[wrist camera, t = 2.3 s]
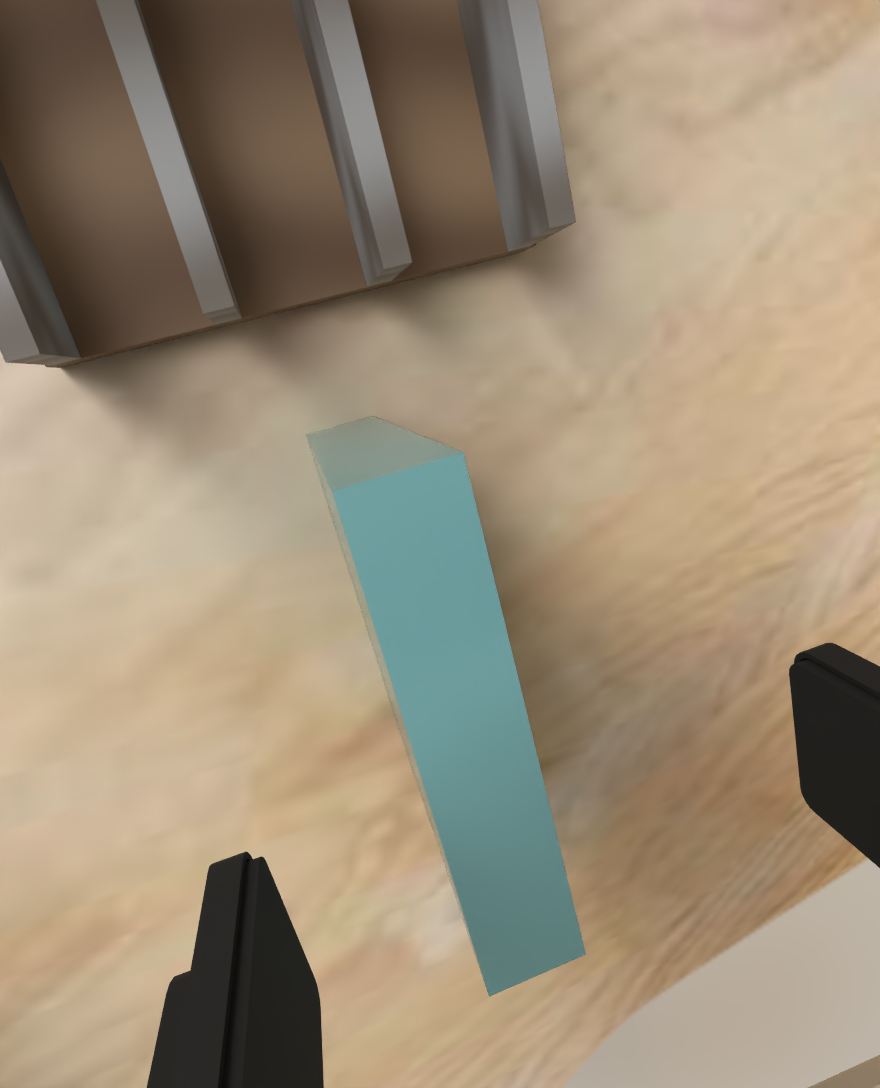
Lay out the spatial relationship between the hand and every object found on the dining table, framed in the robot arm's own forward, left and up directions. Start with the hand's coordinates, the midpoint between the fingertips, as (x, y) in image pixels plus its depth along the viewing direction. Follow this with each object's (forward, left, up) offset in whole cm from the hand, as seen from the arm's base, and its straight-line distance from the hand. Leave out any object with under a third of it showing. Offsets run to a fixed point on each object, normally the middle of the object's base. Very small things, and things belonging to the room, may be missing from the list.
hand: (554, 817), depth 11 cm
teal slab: (0, +1, -15) cm, 15 cm away
